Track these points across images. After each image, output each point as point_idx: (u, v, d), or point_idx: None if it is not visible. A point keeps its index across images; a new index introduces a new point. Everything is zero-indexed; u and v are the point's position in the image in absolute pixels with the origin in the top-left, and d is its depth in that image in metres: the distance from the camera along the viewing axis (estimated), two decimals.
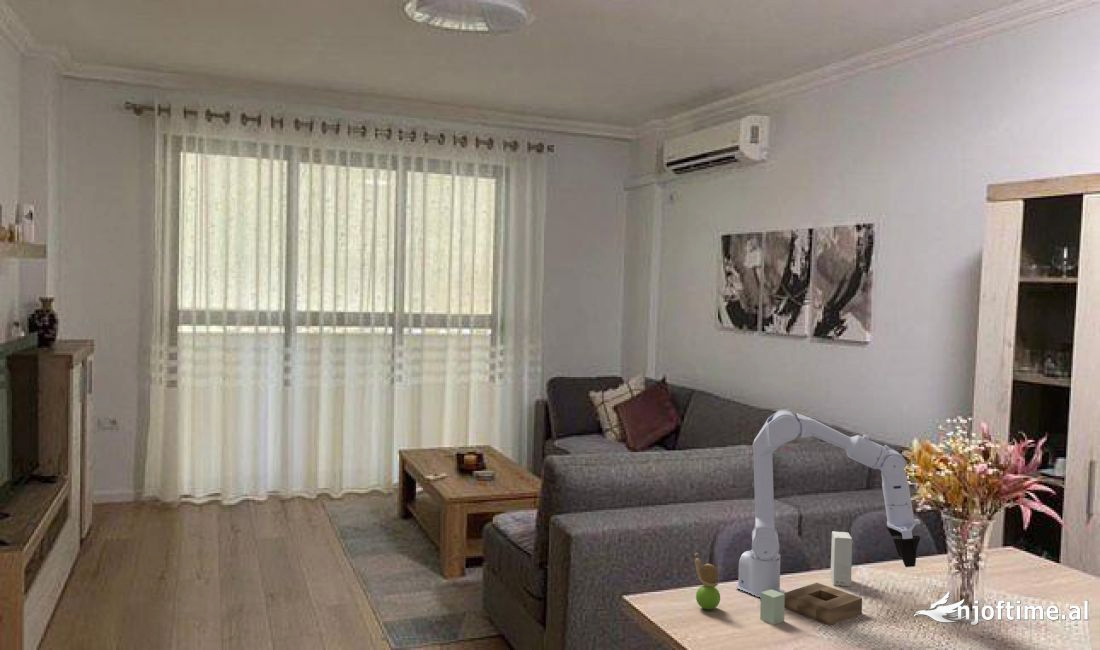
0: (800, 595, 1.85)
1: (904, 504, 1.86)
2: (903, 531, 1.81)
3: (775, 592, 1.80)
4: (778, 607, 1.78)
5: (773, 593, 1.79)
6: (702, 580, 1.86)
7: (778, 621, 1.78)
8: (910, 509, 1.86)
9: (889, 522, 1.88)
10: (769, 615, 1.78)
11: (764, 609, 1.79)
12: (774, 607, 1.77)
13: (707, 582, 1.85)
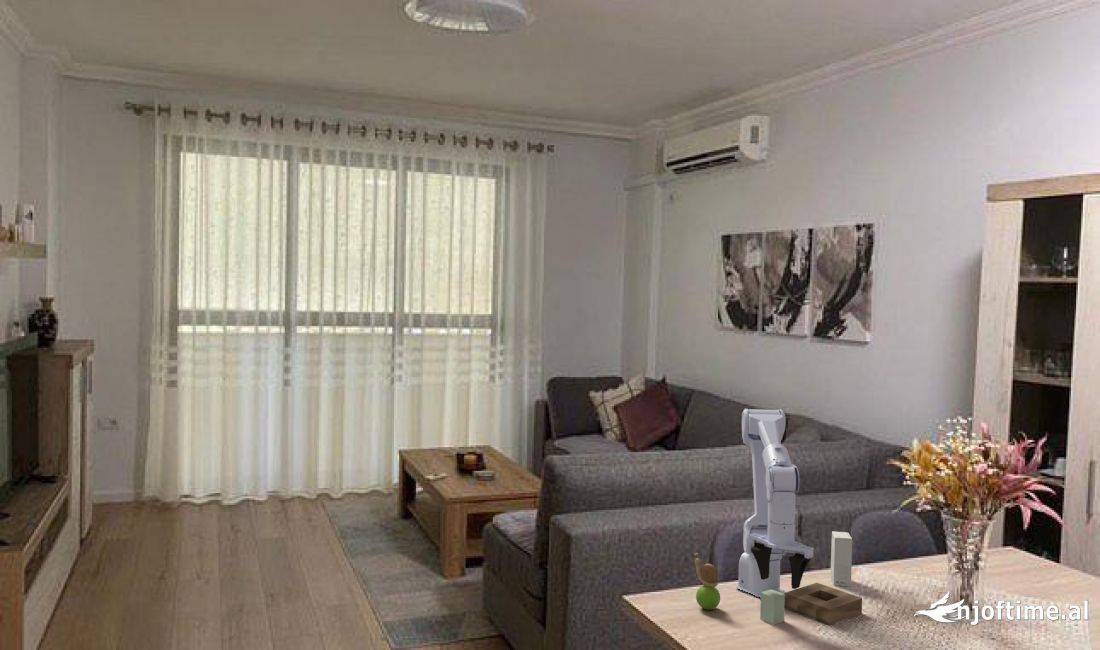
0: (800, 595, 1.85)
1: None
2: None
3: (775, 592, 1.80)
4: (778, 607, 1.78)
5: (773, 593, 1.79)
6: (702, 580, 1.86)
7: (778, 621, 1.78)
8: (768, 527, 1.78)
9: None
10: (769, 615, 1.78)
11: (764, 609, 1.79)
12: (774, 607, 1.77)
13: (707, 582, 1.85)
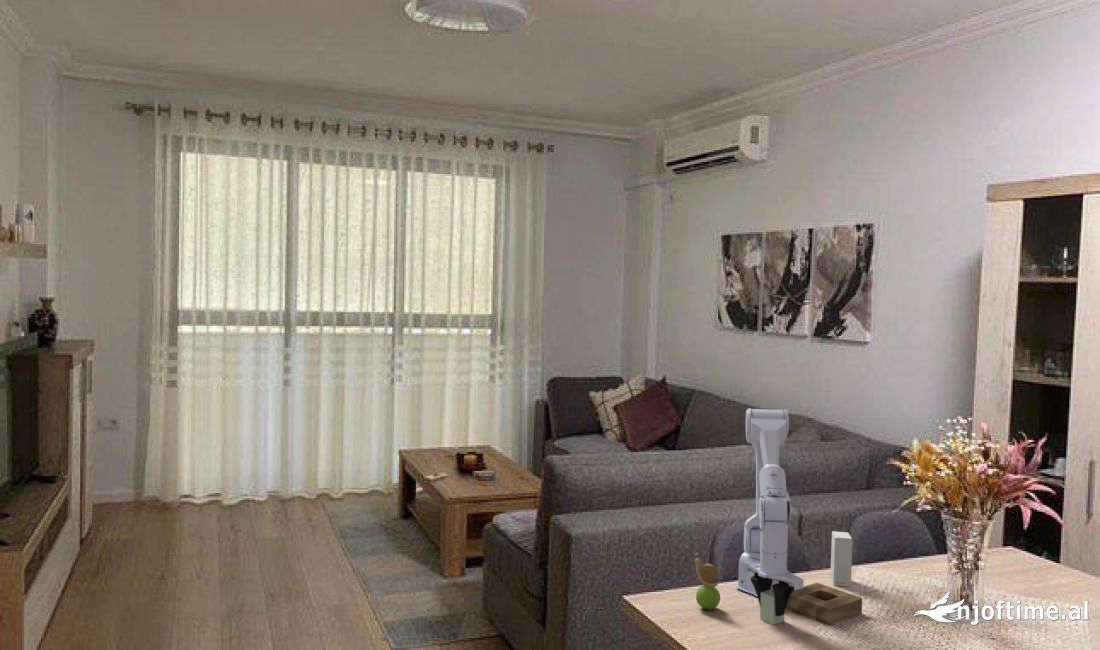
0: (800, 595, 1.85)
1: None
2: None
3: None
4: None
5: (773, 593, 1.79)
6: (702, 580, 1.86)
7: (778, 621, 1.78)
8: (760, 556, 1.79)
9: None
10: (769, 614, 1.78)
11: (764, 608, 1.79)
12: (774, 607, 1.77)
13: (707, 582, 1.85)
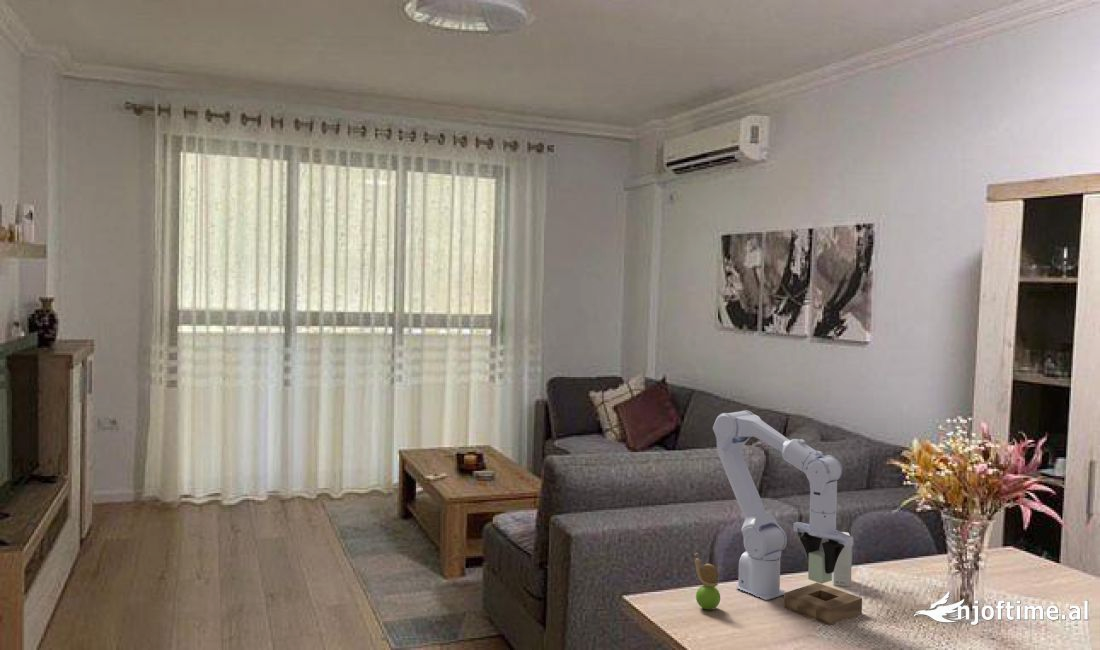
0: (800, 595, 1.85)
1: None
2: None
3: (823, 552, 1.85)
4: None
5: (820, 554, 1.84)
6: (702, 580, 1.86)
7: (826, 580, 1.83)
8: (810, 516, 1.84)
9: None
10: (817, 574, 1.83)
11: (812, 568, 1.84)
12: (823, 566, 1.82)
13: (707, 582, 1.85)
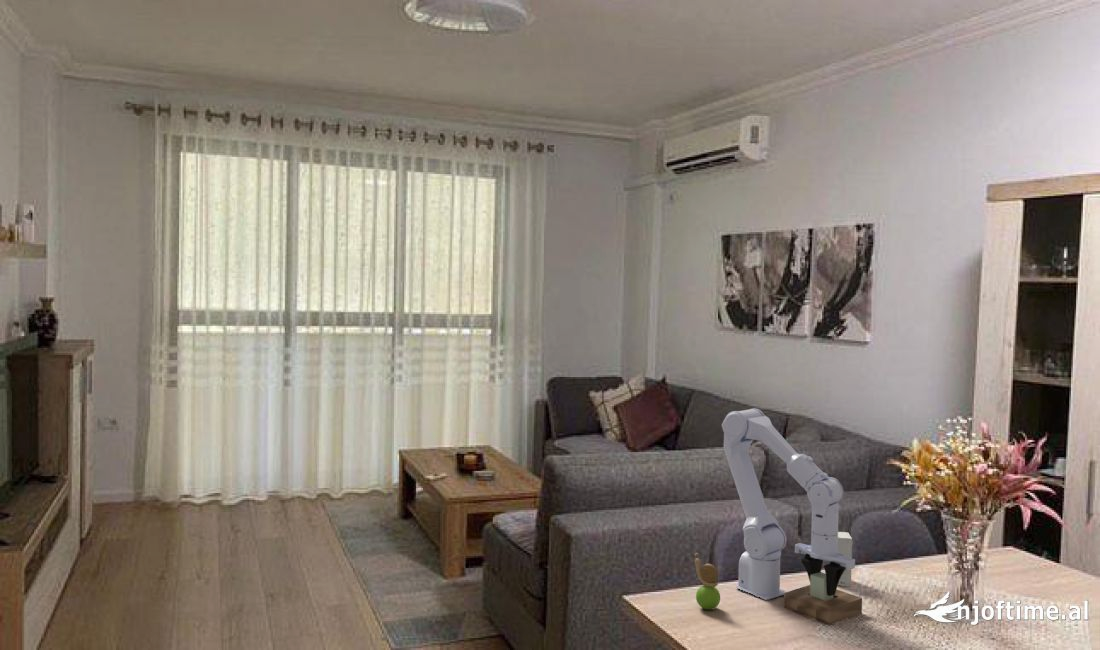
0: (800, 595, 1.85)
1: None
2: None
3: (824, 574, 1.85)
4: None
5: (822, 576, 1.84)
6: (702, 580, 1.86)
7: None
8: (811, 538, 1.85)
9: None
10: (819, 596, 1.83)
11: (814, 590, 1.84)
12: (824, 588, 1.82)
13: (707, 582, 1.85)
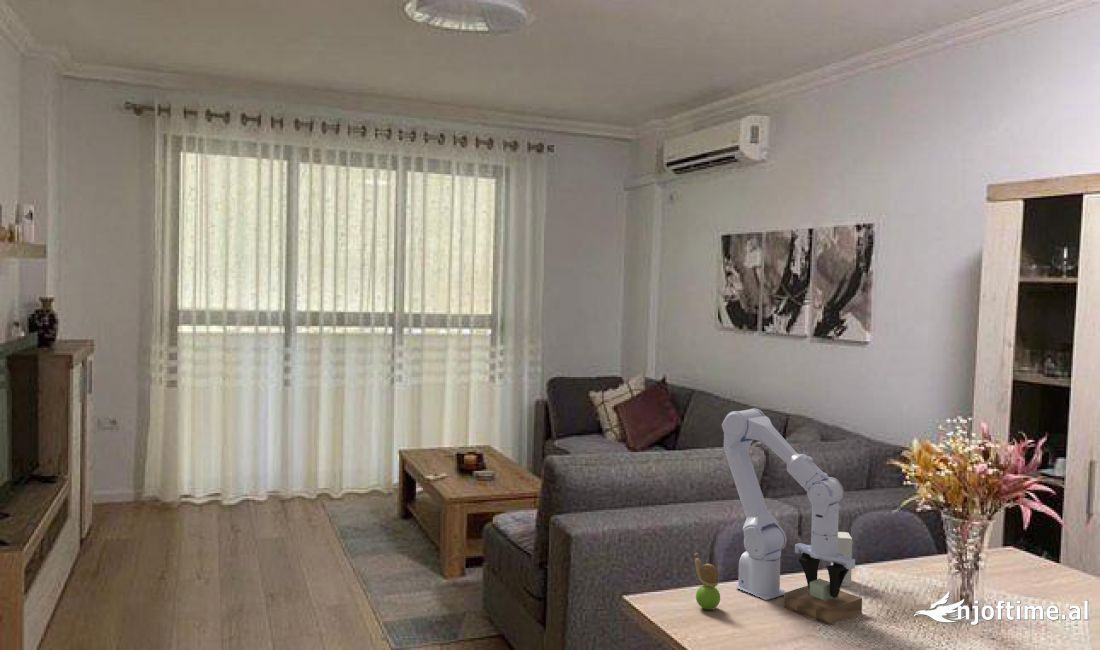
0: (800, 595, 1.85)
1: None
2: None
3: (823, 581, 1.85)
4: (827, 596, 1.83)
5: (821, 583, 1.84)
6: (702, 580, 1.86)
7: None
8: (811, 538, 1.85)
9: None
10: None
11: None
12: (824, 596, 1.82)
13: (707, 582, 1.85)
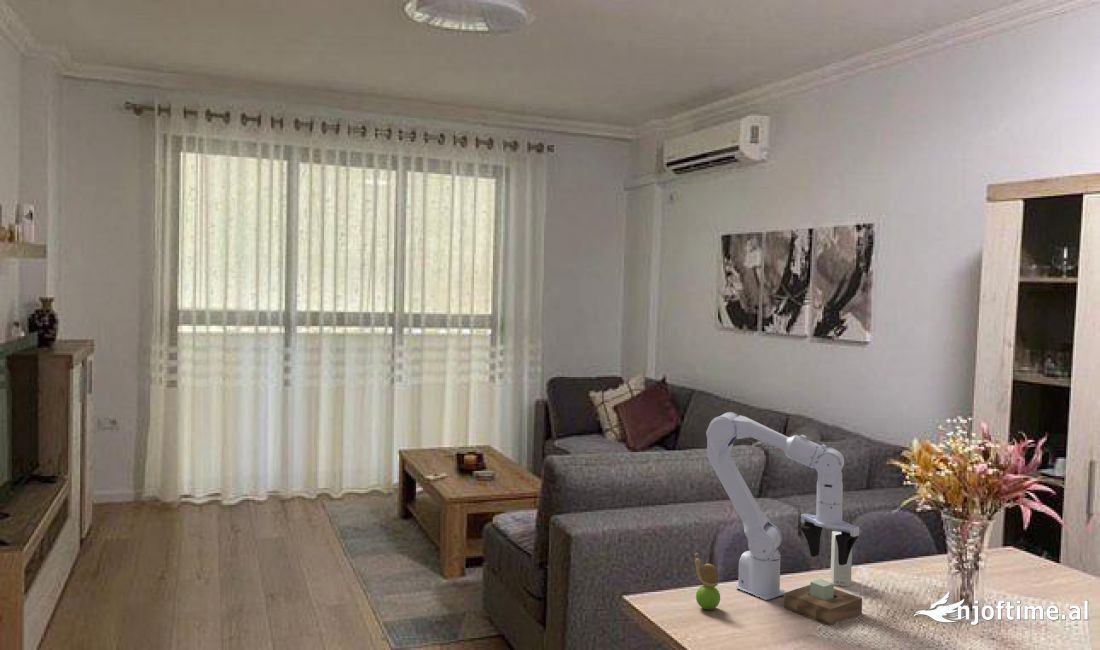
0: (800, 595, 1.85)
1: None
2: None
3: (824, 581, 1.85)
4: (827, 596, 1.83)
5: (822, 583, 1.84)
6: (702, 580, 1.86)
7: None
8: (816, 507, 1.89)
9: None
10: None
11: None
12: (824, 596, 1.83)
13: (707, 582, 1.85)
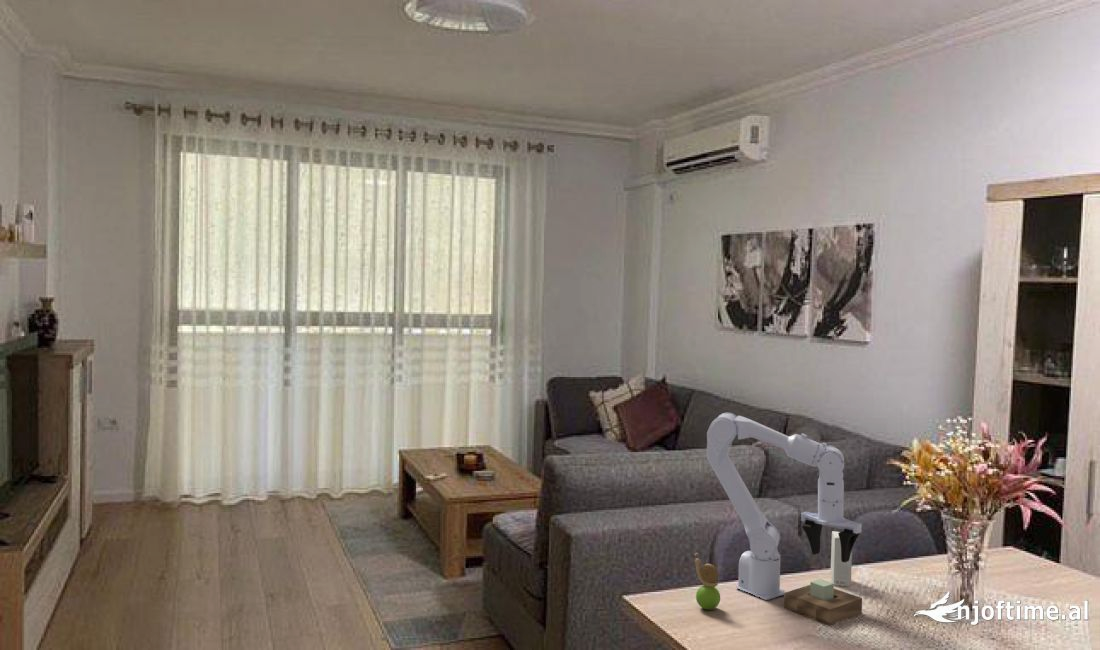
0: (800, 595, 1.85)
1: None
2: None
3: (824, 581, 1.85)
4: (827, 596, 1.83)
5: (822, 583, 1.84)
6: (702, 580, 1.86)
7: None
8: (818, 505, 1.90)
9: None
10: None
11: None
12: (824, 596, 1.83)
13: (707, 582, 1.85)
